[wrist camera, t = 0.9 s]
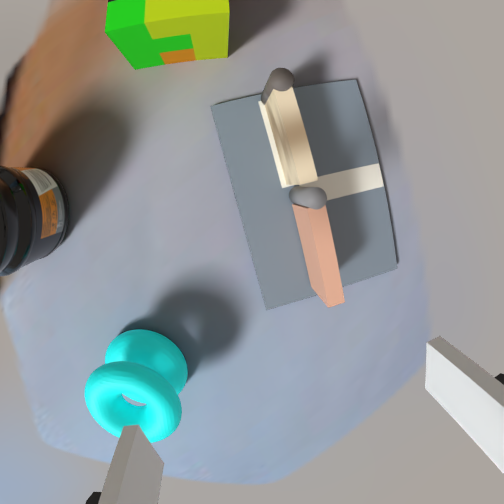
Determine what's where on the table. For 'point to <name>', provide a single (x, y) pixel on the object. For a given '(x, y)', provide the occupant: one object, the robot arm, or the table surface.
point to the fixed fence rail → (288, 128)
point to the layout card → (329, 179)
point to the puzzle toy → (168, 30)
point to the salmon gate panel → (317, 243)
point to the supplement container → (30, 216)
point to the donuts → (138, 385)
